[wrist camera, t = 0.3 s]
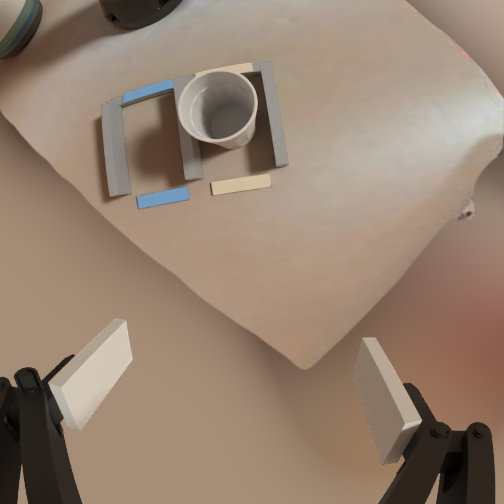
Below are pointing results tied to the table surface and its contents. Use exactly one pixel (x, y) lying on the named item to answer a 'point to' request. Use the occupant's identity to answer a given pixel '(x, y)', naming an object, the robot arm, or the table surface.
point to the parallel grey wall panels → (186, 139)
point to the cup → (219, 108)
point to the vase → (17, 24)
